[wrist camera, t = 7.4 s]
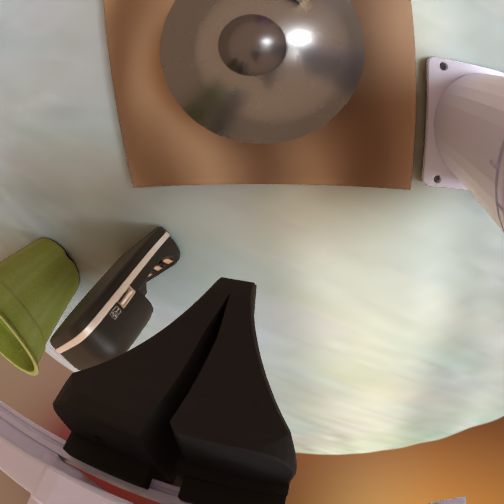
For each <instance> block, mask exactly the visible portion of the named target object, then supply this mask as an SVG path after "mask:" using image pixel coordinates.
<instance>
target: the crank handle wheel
mask: <svg viewBox="0 0 504 504" xmlns="http://www.w3.org/2000/svg"><path fill="white" fill-rule="evenodd" d="M160 58H161V66H162V70H163V75H164V77H165V80H166V83H167V86H168V88H169V89H170V91H171V93H172V95H173V97H174V98H175V100H176V101H177V103H178V104H179V105H180V107H181V108H182V109H183V110H184V111H185V112H186V113H187V114H188V115H189V116H190V117H191V118H192V119H193V120H195V121H196V122H197V123H198V124H200V125H201V126H203V127H204V128H206V129H207V130H209V131H211V132H213V133H215V134H217V135H220V136H222V137H225V138H228V139H231V140H235V141H239V142H244V143H252V144H272V143H281V142H285V141H290V140H294V139H297V138H299V137H302V136H305V135H307V134H309V133H311V132H313V131H315V130H317V129H319V128H320V127H322V126H323V125H325V124H326V123H328V122H329V121H330V120H331V119H332V118H333V117H335V116H336V115H337V114H338V113H339V112H340V111H341V109H342V108H343V107H344V106H345V105H346V104H347V102H348V101H349V99H350V98H351V96H352V95H353V93H354V91H355V89H356V87H357V85H358V82H359V80H360V77H361V73H362V70H363V65H364V58H365V41H364V35H363V30H362V26H361V23H360V20H359V17H358V15H357V13H356V11H355V9H354V7H353V5H352V4H351V2H350V1H349V0H176V1H175V2H174V4H173V5H172V7H171V9H170V11H169V13H168V15H167V17H166V20H165V23H164V26H163V30H162V35H161V41H160Z"/></svg>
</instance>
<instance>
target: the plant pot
mask: <svg viewBox="0 0 504 504" xmlns="http://www.w3.org/2000/svg"><path fill="white" fill-rule="evenodd" d="M79 281H80V280H79V274H78V271H77V269H76V266H75V264H74V263H73V261H71V260H70V259H69V258H68V257H67V255H66V254H65V251H64V249H63V248H62V247H60V246H59V245H58V244H57V243H55V242H54V241H52V240H50V239H46V238H41V239H38V240H36V241H35V242H33V243H31V244H29V245H28V246H26V247H24V248H23V249H21V250H19V251H18V252H16V253H14V254H13V255H11V256H10V257H8V258H6V259H5V260H3V261H1V262H0V354H1V355H3V356H4V357H5V358H6V359H7V360H8V361H9V362H11V363H12V364H13V365H14V366H16V367H17V368H19V369H20V370H22V371H24V372H26V373H27V374H30V375H37V374H38V372H39V367H38V363H39V360H40V358H41V356H42V354H43V352H44V350H45V345H46V343H47V341H48V339H49V337H50V335H51V333H52V331H53V330H54V328H55V326H56V324H57V323H58V321H59V319H60V317H61V316H62V314H63V312H64V310H65V309H66V307H67V305H68V304H69V302H70V300H71V299H72V297H73V295H74V294H75V292H76V290H77V289H78V287H79Z"/></svg>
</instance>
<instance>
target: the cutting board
mask: <svg viewBox="0 0 504 504" xmlns="http://www.w3.org/2000/svg"><path fill="white" fill-rule="evenodd" d="M175 1H176V0H104V10H105V22H106V32H107V41H108V50H109V58H110V65H111V72H112V79H113V86H114V92H115V98H116V104H117V110H118V115H119V121H120V126H121V131H122V136H123V141H124V146H125V151H126V156H127V160H128V165H129V170H130V174H131V178H132V183H133V187H150V186H171V185H200V184H311V185H340V186H361V187H378V188H394V189H407V190H410V188H411V178H412V168H413V156H414V141H415V120H416V61H415V41H414V27H413V16H412V6H411V0H349V1H350V2H351V4H352V5H353V7H354V9H355V11H356V13H357V15H358V17H359V20H360V23H361V26H362V30H363V35H364V41H365V58H364V65H363V70H362V73H361V77H360V80H359V82H358V85H357V87H356V89H355V91H354V93H353V95H352V96H351V98H350V99H349V101H348V102H347V104H346V105H345V106H344V107H343V108H342V109H341V111H340V112H339V113H338V114H337V115H336V116H335V117H333V118H332V119H331V120H330V121H329V122H328V123H326V124H325V125H323V126H322V127H320V128H319V129H317V130H315V131H313V132H311V133H309V134H307V135H305V136H302V137H299V138H297V139H294V140H290V141H285V142H281V143H272V144H252V143H244V142H239V141H235V140H231V139H228V138H225V137H222V136H220V135H217V134H215V133H213V132H211V131H209V130H207V129H206V128H204V127H203V126H201V125H200V124H198V123H197V122H196V121H195V120H193V119H192V118H191V117H190V116H189V115H188V114H187V113H186V112H185V111H184V110H183V109H182V108H181V107H180V105H179V104H178V103H177V101H176V100H175V98H174V97H173V95H172V93H171V91H170V89H169V88H168V86H167V83H166V80H165V77H164V75H163V70H162V66H161V58H160V41H161V35H162V30H163V26H164V23H165V20H166V17H167V15H168V13H169V11H170V9H171V7H172V5H173V4H174V2H175Z"/></svg>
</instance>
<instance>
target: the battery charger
mask: <svg viewBox="0 0 504 504" xmlns="http://www.w3.org/2000/svg"><path fill="white" fill-rule="evenodd" d="M179 258H180V251H179V249H178V247H177V245H176V244H175V242H174V241H173V240H172V239H171V237H170V235H169V233H168V232H167V231H166V232H165V230H164V229H163V228H161V227H158V228H157V229H155V230H154V231H153V232H151V233H150V234H149V235H147V236H146V237H145V238H144V239H142V240H141V241H140V242H139V243H137V244H136V245H135V246H134V247H132V248H131V249H130V250H129V251H127V252H126V253H125V254H124V255H123V256H121V257H120V258H119V259H118V260H117V261H116V262H115V263H114V265H113V266H112V267H111V268H110V269H109V270H108V271H107V272H106V273H105V274H104V276H103V277H102V278H101V279H100V280H99V281H98V282H97V283H96V284H95V286H94V287H93V288H92V289H91V290H90V291H89V292H88V293H87V295H86V296H85V297H84V298H83V299H82V300H81V301H80V303H79V304H78V305H77V306H76V307H75V309H74V310H73V311H72V312H71V313H70V314H69V316H68V317H67V318H66V319H65V321H64V322H63V323H62V324H61V325H60V327H59V328H58V329H57V330H56V332H55V333H54V334H53V336H52V338H51V340H50V342H51V345H52V346H53V347H54V348H55V351H56V352H57V353H58V354H61V355H62V356H63V357H64V358H65V359H66V360H67V361H69V362H70V363H71V364H72V365H73V366H74V367H75V368H77V369H78V370H84V369H87V368H90V367H93V366H96V365H98V364H101V363H103V362H106V361H108V360H110V359H113V358H115V357H117V356H119V355H121V354H123V353H125V352H127V350H128V349H129V348H130V346H131V345H132V344H133V342H134V341H135V340H136V338H137V337H138V335H139V334H140V333H141V331H142V330H143V328H144V327H145V325H146V324H147V322H148V321H149V319H150V317H151V314H152V312H153V307H152V305H151V303H150V302H149V301H148V299H147V298H146V297H145V295H146V293H147V290H146V282H148V281H149V280H151V279H152V278H154V277H156V276H157V275H159V274H160V273H162V272H163V271H165V270H167V269H168V268H170V267H171V266H173V265H174V264H175V263H177V261H178V260H179Z"/></svg>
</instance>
